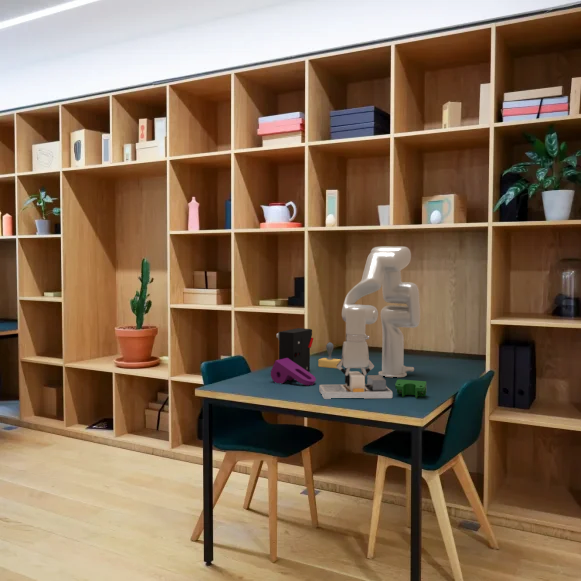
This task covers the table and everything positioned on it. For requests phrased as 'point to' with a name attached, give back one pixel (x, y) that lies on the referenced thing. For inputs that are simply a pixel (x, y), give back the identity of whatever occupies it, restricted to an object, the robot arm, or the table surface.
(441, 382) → the table surface
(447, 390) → the table surface
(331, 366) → the rubber stamp
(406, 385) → the clamp
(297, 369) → the mounting bracket
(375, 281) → the robot arm
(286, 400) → the table surface
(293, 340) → the electrical component
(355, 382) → the cream upright block
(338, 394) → the grey compartment tray
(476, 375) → the table surface
